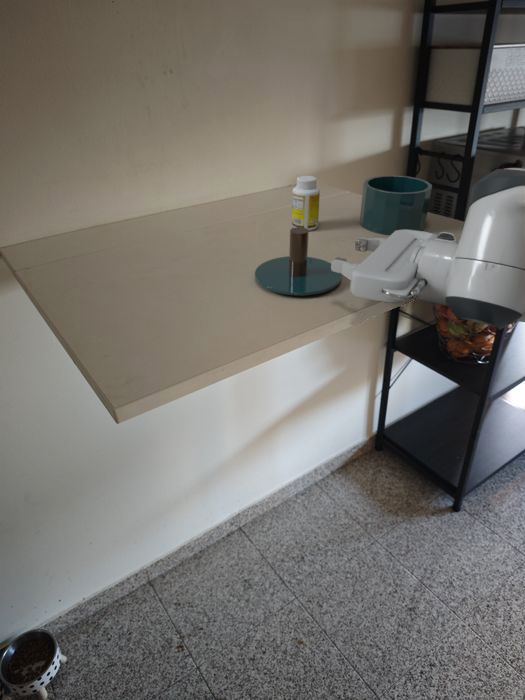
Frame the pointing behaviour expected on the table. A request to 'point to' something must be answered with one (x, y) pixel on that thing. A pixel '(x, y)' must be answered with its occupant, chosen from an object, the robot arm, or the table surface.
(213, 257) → the table surface
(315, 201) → the supplement bottle
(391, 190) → the pot
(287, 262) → the lid
